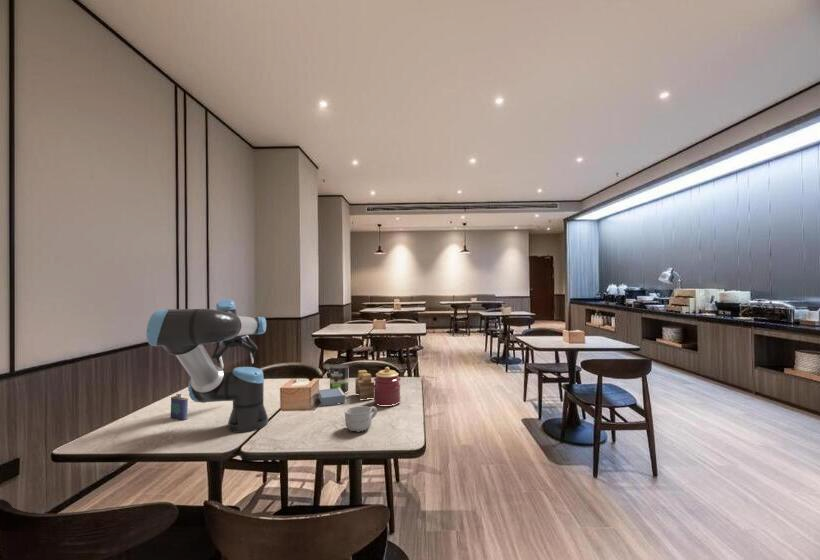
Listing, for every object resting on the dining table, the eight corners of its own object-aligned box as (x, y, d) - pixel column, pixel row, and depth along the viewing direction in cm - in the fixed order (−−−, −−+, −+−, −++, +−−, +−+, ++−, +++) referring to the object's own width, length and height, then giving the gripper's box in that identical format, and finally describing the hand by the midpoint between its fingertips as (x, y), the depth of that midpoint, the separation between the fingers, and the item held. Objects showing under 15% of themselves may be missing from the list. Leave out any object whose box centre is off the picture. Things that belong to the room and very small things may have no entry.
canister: (405, 401, 178) (405, 365, 179) (390, 409, 167) (390, 371, 168) (384, 397, 185) (384, 363, 186) (368, 404, 174) (368, 367, 175)
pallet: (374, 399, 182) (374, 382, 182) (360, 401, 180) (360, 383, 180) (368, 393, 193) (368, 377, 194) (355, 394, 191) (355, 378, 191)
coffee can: (345, 395, 189) (345, 368, 190) (326, 394, 191) (326, 367, 191) (351, 389, 200) (351, 364, 200) (333, 389, 201) (333, 363, 202)
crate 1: (367, 379, 189) (367, 371, 190) (359, 379, 188) (359, 372, 188) (365, 377, 193) (365, 369, 193) (358, 378, 192) (358, 370, 192)
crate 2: (371, 382, 182) (371, 374, 182) (363, 383, 181) (363, 375, 181) (369, 381, 186) (369, 373, 186) (361, 381, 184) (361, 373, 184)
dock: (345, 403, 176) (345, 394, 176) (322, 406, 172) (322, 397, 172) (340, 395, 189) (340, 387, 189) (318, 398, 185) (318, 389, 185)
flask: (189, 418, 157) (189, 393, 157) (182, 421, 154) (182, 395, 154) (174, 416, 160) (174, 391, 160) (168, 418, 157) (168, 393, 158)
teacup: (349, 437, 136) (349, 415, 137) (341, 427, 146) (341, 407, 146) (383, 430, 143) (383, 409, 143) (373, 421, 152) (373, 402, 153)
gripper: (259, 321, 175) (264, 354, 185) (201, 329, 166) (210, 364, 177) (259, 330, 169) (265, 364, 179) (199, 339, 160) (208, 374, 171)
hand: (237, 364), depth 178 cm, fingers open, 13 cm apart
